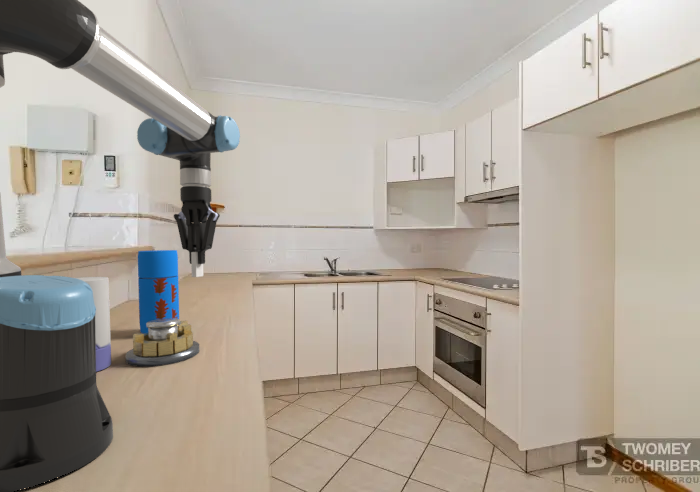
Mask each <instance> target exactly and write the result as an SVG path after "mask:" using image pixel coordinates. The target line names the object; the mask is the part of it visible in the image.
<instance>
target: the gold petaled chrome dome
mask: <svg viewBox="0 0 700 492" xmlns="http://www.w3.org/2000/svg"><path fill="white" fill-rule="evenodd" d="M193 341H194V333H193V331H192V325H191V324H189V321H188V320H180V323H179V324H178V337H177V333H175V332H172V333H167V340H162V341H149V332H148V333H144V334H143V333H140V332H139V333H133V334H132V342H133V343H132V345H133V347H132V349H133V353H134V355H138V356H143V357H146V356H158V355H159V356H162V355H169V354H173V353H178V352H181V351H184V350H186V349H189V348H190V347H191V346H193Z"/></svg>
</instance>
